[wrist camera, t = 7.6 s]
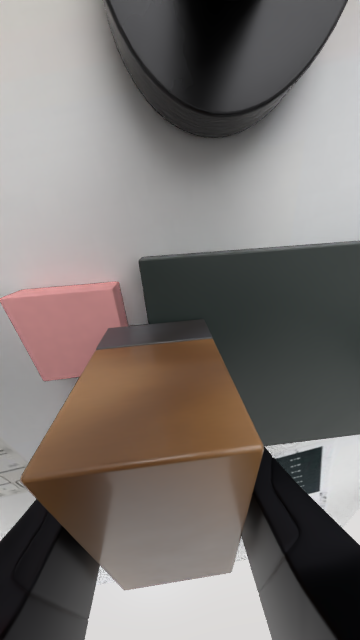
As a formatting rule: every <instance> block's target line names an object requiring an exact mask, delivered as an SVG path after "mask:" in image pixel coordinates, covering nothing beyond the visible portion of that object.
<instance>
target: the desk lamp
mask: <svg viewBox="0 0 360 640" xmlns="http://www.w3.org/2000/svg"><path fill="white" fill-rule="evenodd" d="M347 1H348V0H103V3H104V7H105V10H106V14H107V18H108V21H109V25H110V29H111V31H112V34H113V37H114V40H115V43H116V45H117V48H118V51H119V53H120V55H121V57H122V59H123V62H124V64H125V66H126V68H127V70H128V72H129V74H130V75H131V77H132V79H133V81H134V82H135V84H136V86H137V87H138V89H139V90H140V91H141V93H142V94H143V96H144V97H145V98H146V100H147V101H148V102H149V103H150V104H151V105H152V107H153V108H154V109H155V110H156V111H157V112H158V113H159V114H160V115H162V116H163V117H164V118H165V119H166V120H167V121H169V122H170V123H172V124H173V125H175V126H176V127H178V128H180V129H182V130H184V131H186V132H189V133H191V134H194V135H199V136H203V137H222V136H229V135H232V134H235V133H238V132H241V131H243V130H245V129H247V128H249V127H251V126H252V125H254V124H255V123H257V122H258V121H260V120H261V119H262V118H264V117H265V116H266V115H267V114H268V113H269V112H270V111H271V110H272V109H273V108H274V107H275V106H276V105H277V104H278V103H279V102H280V101H281V99H282V98H283V97H284V96H285V95H286V94H287V92H288V91H289V90H290V89H291V88H292V87H293V85H294V84H295V83H296V82H297V81H298V80H299V78H300V77H301V76H302V75H303V74H304V72H305V71H306V70H307V69H308V68H309V67H310V65H311V64H312V62H313V61H314V60H315V58H316V57H317V55H318V54H319V53H320V51H321V50H322V48H323V47H324V45H325V43H326V42H327V40H328V38H329V36H330V35H331V33H332V31H333V30H334V28H335V26H336V24H337V22H338V20H339V18H340V16H341V14H342V12H343V10H344V8H345V6H346V4H347Z"/></svg>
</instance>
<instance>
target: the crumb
mask: <svg viewBox="0 0 360 640" xmlns="http://www.w3.org/2000/svg"><path fill="white" fill-rule="evenodd" d="M0 302H1V304H2V306H3V308H4V310H5V312H6V313H7V315H8V317H9V319H10V321H11V322H12V324H13V326H14V328H15V330H16V332H17V333H18V335H19V337H20V339H21V341H22V343H23V344H24V346H25V348H26V350H27V352H28V354H29V355H30V357H31V359H32V361H33V363H34V365H35V366H36V368H37V370H38V372H39V374H40V376H41V377H42V379H43V381H50V380H59V379H67V378H75V377H80V376H81V374H82V372H83V371H84V369H85V367H86V366H87V364H88V362H89V361H90V359H91V357H92V355H93V354H94V352H95V351H96V348H97V346H98V344H99V343H100V341H101V339H102V338H103V336H104V334H105V333H106V331H107V329H108V328H114V327H125V326H128V323H127V318H126V313H125V309H124V304H123V300H122V295H121V290H120V286H119V282H106V283H94V284H83V285H71V286H59V287H48V288H36V289H24V290H20V291H17V292H15V293H12V294H10V295H7V296H5V297H2V298H0Z"/></svg>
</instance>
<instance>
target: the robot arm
mask: <svg viewBox="0 0 360 640" xmlns="http://www.w3.org/2000/svg"><path fill="white" fill-rule="evenodd" d="M241 536H242V539H243V543H244V546H245V549H246V553H247V556H248V560H249V563H250V566H251V570H252V573H253V576H254V580H255V583H256V586H257V590H258V592H259V597H260V600H261V603H262V607H263V610H264V613H265V617H266V620H267V623H268V627H269V630H270V634H271V637H272V640H360V545H359V544H358V543H357V542H356V541H355V540H354V539H353V538H352V537H351V536H350V535H349V534H347V533H346V532H345V531H344V530H343V529H342V528H341V527H340V526H339V525H338V524H337V523H336V522H335V521H334V520H333V519H332V518H331V517H330V516H329V515H328V514H327V513H326V512H325V511H324V510H323V509H322V508H321V507H320V506H319V505H318V504H317V503H316V502H315V501H314V500H313V499H312V498H311V497H310V496H309V495H308V494H307V493H306V492H305V491H304V490H303V489H302V488H301V487H300V486H299V485H298V484H297V483H296V482H295V481H294V480H293V479H292V477H291V476H290V475H289V474H288V473H287V472H286V471H285V470H284V469H283V468H282V466H281V465H280V464H279V463H278V462H277V461H276V460H275V458H272V455H271V454H270V453H269V452H268V450H267V449H266V448H265V447H264V451H263V455H262V459H261V463H260V467H259V470H258V474H257V478H256V482H255V486H254V489H253V493H252V497H251V501H250V505H249V508H248V512H247V516H246V520H245V524H244V527H243V531H242V535H241ZM99 567H100V565H99V564H98V563H97V562H96V561H95V560H94V558H93V557H92V556H91V555H90V554H89V553H88V552H87V551H86V550H85V549H84V548H83V547H82V546H81V545H80V544H79V543H78V542H77V541H76V540H75V539H74V538H73V537H72V536H71V534H70V533H69V532H68V531H67V530H66V529H65V528H64V527H63V526H62V525H61V524H60V523H59V522H58V521H57V520H56V519H55V518H54V517H53V516H52V515H51V514H50V513H49V512H48V510H47V509H46V508H45V507H44V506H43V505H42V504H41V503H40V502H39V501H38V500H37V499H36V500H35V501H34V503H33V504H32V505H31V506H30V507H29V509H28V510H27V511H26V512H25V513H24V515H23V516H22V517H21V518H20V519H19V521H18V522H17V523H16V524H15V525H14V526H13V527H12V529H11V530H10V531H9V532H8V533H7V534H6V536H5V537H4V538H3V539H2V540H1V541H0V640H84V639H85V634H86V629H87V624H88V618H89V614H90V610H91V605H92V600H93V595H94V590H95V586H96V581H97V576H98V571H99Z"/></svg>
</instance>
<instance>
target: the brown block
mask: <svg viewBox="0 0 360 640" xmlns="http://www.w3.org/2000/svg"><path fill="white" fill-rule="evenodd" d="M263 451H264V446H263V443H262V441H261V439H260V437H259V435H258V433H257V431H256V429H255V427H254V424H253V422H252V420H251V418H250V416H249V414H248V412H247V410H246V408H245V406H244V403H243V401H242V399H241V397H240V395H239V393H238V391H237V389H236V387H235V385H234V382H233V380H232V378H231V376H230V374H229V372H228V370H227V368H226V366H225V364H224V361H223V359H222V357H221V355H220V353H219V351H218V349H217V347H216V345H215V343H214V340H213V337H212V335H211V333H210V331H209V329H208V327H207V325H206V323H205V321H204V319H199V320H189V321H178V322H168V323H157V324H146V325H136V326H125V327H114V328H108V329H107V331H106V333H105V334H104V336H103V338H102V339H101V341H100V343H99V344H98V346H97V348H96V351H95V352H94V354H93V355H92V357H91V359H90V361H89V362H88V364H87V366H86V367H85V369H84V371H83V372H82V374H81V376H80V377H79V379H78V381H77V382H76V384H75V386H74V387H73V389H72V391H71V393H70V394H69V396H68V398H67V399H66V401H65V403H64V404H63V406H62V408H61V409H60V411H59V413H58V414H57V416H56V418H55V420H54V421H53V423H52V425H51V426H50V428H49V430H48V431H47V433H46V435H45V436H44V438H43V440H42V441H41V443H40V445H39V447H38V448H37V450H36V452H35V453H34V455H33V457H32V458H31V460H30V462H29V463H28V465H27V467H26V468H25V470H24V472H23V474H22V476H21V479H20V482H21V483H22V484H23V485H24V486H25V488H26V489H27V490H28V491H29V492H30V493H31V494H32V495H33V496H34V497H35V498H36V499H37V500H38V501H39V502H40V503H41V504H42V505H43V506H44V507H45V508H46V509H47V510H48V512H49V513H50V514H51V515H52V516H53V517H54V518H55V519H56V520H57V521H58V522H59V523H60V524H61V525H62V526H63V527H64V528H65V529H66V530H67V531H68V532H69V533H70V534H71V536H72V537H73V538H74V539H75V540H76V541H77V542H78V543H79V544H80V545H81V546H82V547H83V548H84V549H85V550H86V551H87V552H88V553H89V554H90V555H91V556H92V557H93V558H94V560H95V561H96V562H97V563H98V564H99V565H100V566H101V567H102V568H103V569H104V570H105V571H106V572H107V573H108V574H109V575H110V576H111V577H112V578H113V579H114V580H115V581H116V582H117V583H118V584H119V585H120V587H121V588H122V589H123V590H130V589H136V588H142V587H148V586H154V585H160V584H166V583H171V582H177V581H184V580H190V579H196V578H202V577H207V576H213V575H220V574H226V573H231V572H232V569H233V565H234V562H235V558H236V554H237V550H238V546H239V543H240V539H241V535H242V531H243V527H244V524H245V520H246V516H247V512H248V508H249V505H250V501H251V497H252V493H253V489H254V486H255V482H256V478H257V474H258V470H259V467H260V463H261V459H262V455H263Z"/></svg>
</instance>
